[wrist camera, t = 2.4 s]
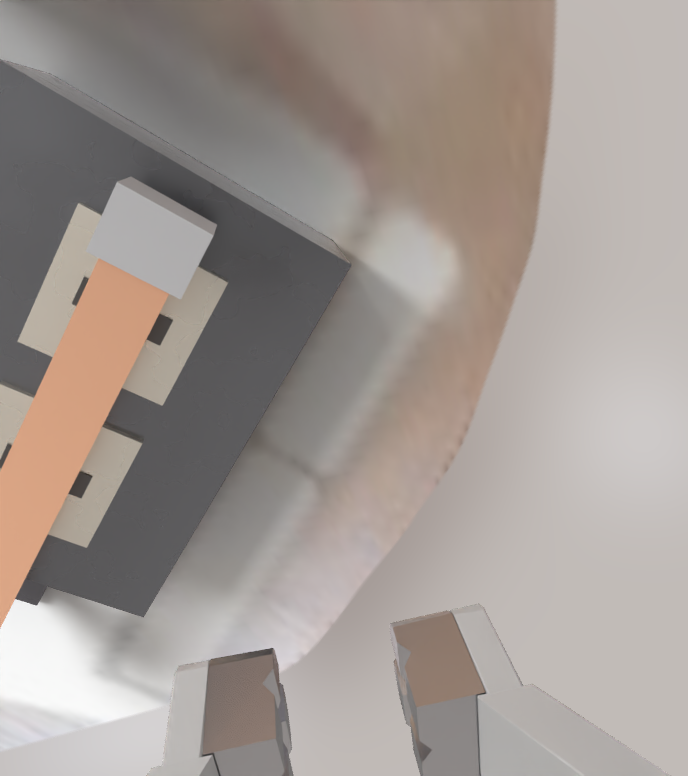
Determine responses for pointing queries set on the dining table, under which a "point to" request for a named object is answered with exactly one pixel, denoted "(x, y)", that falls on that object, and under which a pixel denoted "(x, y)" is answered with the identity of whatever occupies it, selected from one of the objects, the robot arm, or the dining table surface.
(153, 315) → the swing arm
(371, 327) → the dining table surface
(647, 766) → the robot arm
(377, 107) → the dining table surface
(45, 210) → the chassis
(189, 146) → the dining table surface
